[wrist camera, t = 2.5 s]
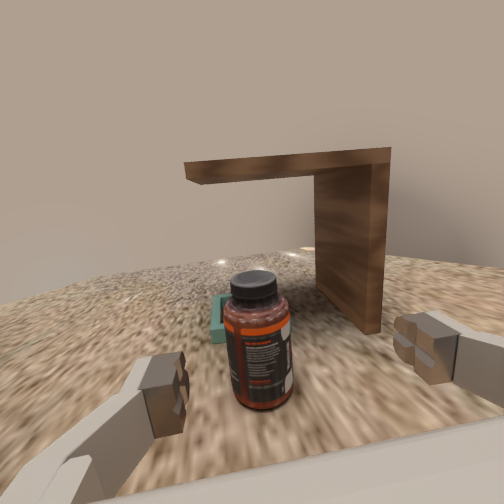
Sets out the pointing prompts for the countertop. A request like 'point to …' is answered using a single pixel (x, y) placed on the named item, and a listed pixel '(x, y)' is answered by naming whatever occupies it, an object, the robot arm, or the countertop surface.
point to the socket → (220, 318)
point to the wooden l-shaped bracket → (332, 218)
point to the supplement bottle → (258, 340)
